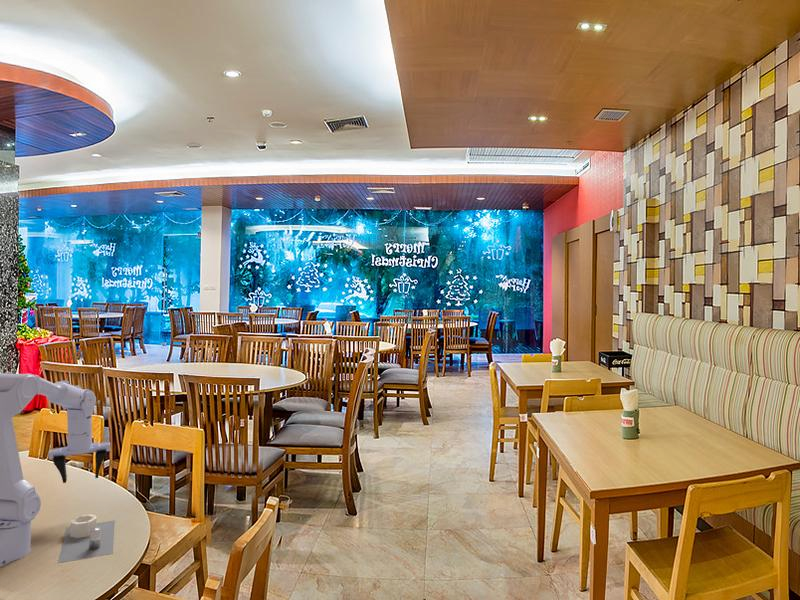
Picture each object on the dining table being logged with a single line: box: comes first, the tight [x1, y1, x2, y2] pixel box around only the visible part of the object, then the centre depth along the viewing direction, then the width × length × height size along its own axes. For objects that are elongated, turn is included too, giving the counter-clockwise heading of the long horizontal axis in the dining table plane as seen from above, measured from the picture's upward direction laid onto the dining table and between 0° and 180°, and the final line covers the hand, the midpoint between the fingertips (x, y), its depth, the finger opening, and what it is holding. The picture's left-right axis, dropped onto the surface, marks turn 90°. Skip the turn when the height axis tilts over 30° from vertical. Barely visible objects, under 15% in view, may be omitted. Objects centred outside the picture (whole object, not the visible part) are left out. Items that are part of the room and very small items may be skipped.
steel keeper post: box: [89, 527, 101, 550], centre depth 126 cm, size 2×2×4 cm
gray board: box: [57, 520, 116, 564], centre depth 130 cm, size 20×11×1 cm, turn 28°
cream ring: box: [69, 513, 98, 538], centre depth 134 cm, size 6×6×4 cm
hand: (81, 479), depth 146 cm, fingers open, 7 cm apart
